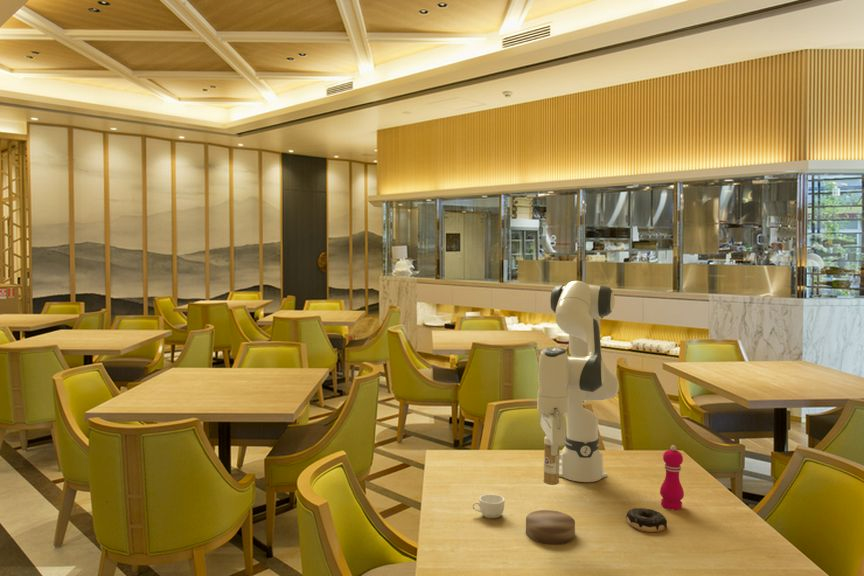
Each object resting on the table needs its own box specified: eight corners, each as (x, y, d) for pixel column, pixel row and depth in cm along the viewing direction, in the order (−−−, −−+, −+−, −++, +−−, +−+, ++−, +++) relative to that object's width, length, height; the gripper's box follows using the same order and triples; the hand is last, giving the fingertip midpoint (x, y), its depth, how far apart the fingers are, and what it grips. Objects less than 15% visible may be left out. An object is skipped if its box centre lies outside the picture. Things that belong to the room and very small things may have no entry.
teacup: (500, 510, 200) (501, 493, 200) (507, 520, 193) (507, 502, 192) (469, 511, 199) (470, 494, 199) (474, 521, 191) (475, 504, 191)
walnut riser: (522, 522, 191) (522, 509, 191) (569, 523, 191) (569, 510, 190) (529, 544, 177) (529, 530, 177) (579, 544, 177) (579, 530, 176)
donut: (647, 537, 183) (647, 523, 182) (617, 521, 193) (617, 508, 193) (674, 529, 188) (674, 516, 187) (644, 514, 198) (644, 502, 198)
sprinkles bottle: (540, 482, 183) (541, 437, 182) (548, 478, 186) (549, 433, 185) (554, 486, 180) (555, 440, 179) (562, 482, 183) (563, 436, 182)
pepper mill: (685, 511, 200) (687, 449, 199) (661, 509, 202) (663, 448, 200) (681, 502, 207) (683, 442, 206) (658, 500, 209) (659, 441, 208)
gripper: (571, 413, 171) (570, 463, 172) (557, 396, 192) (556, 441, 192) (548, 413, 171) (547, 463, 172) (536, 396, 192) (535, 441, 192)
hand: (551, 451), depth 182 cm, fingers closed on sprinkles bottle, 4 cm apart
